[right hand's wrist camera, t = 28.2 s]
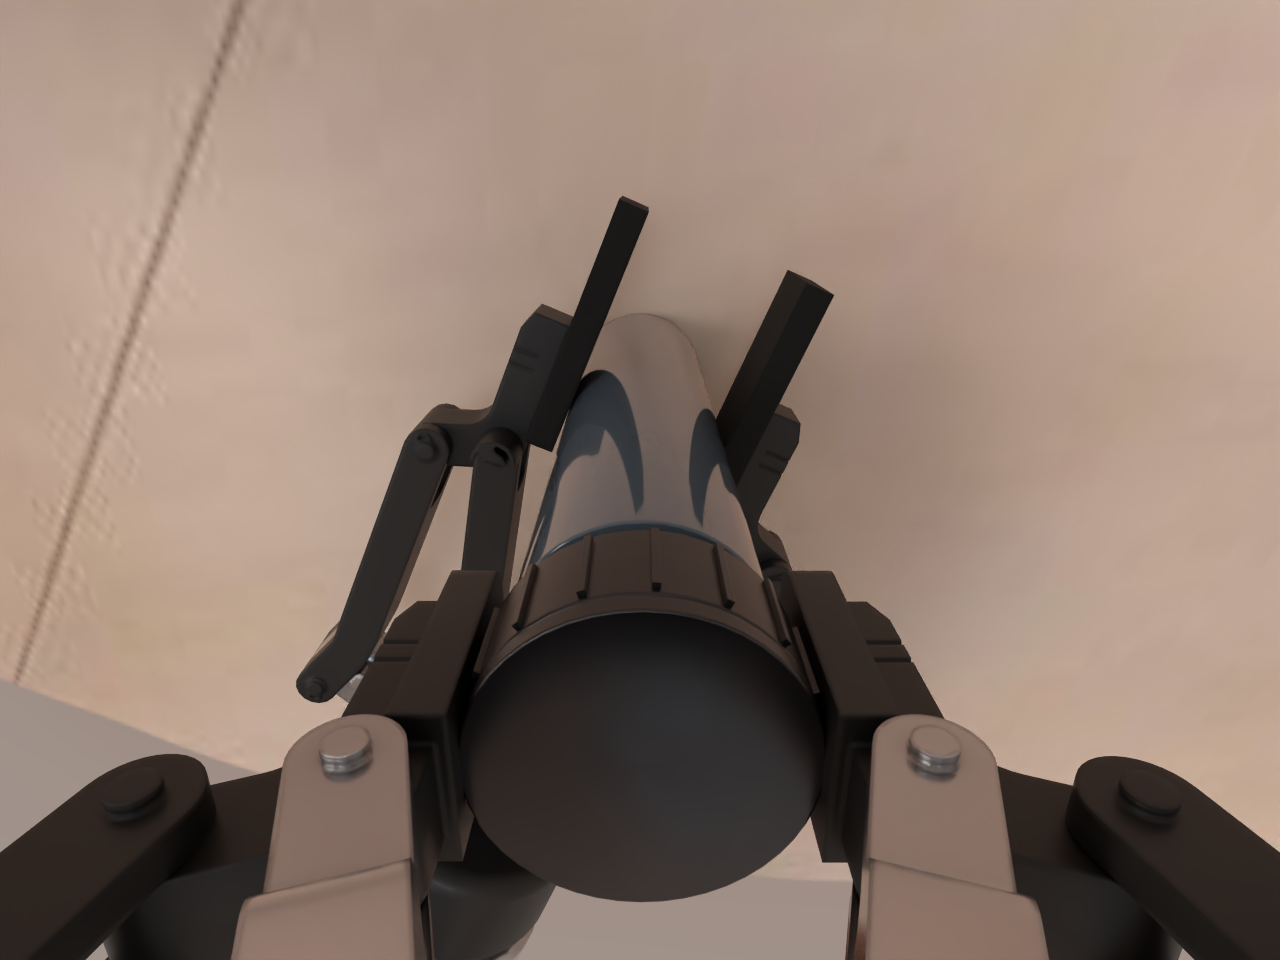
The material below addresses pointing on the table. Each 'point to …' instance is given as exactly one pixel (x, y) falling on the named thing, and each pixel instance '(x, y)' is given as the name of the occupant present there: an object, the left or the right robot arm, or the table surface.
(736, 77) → the table surface
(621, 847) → the lid
